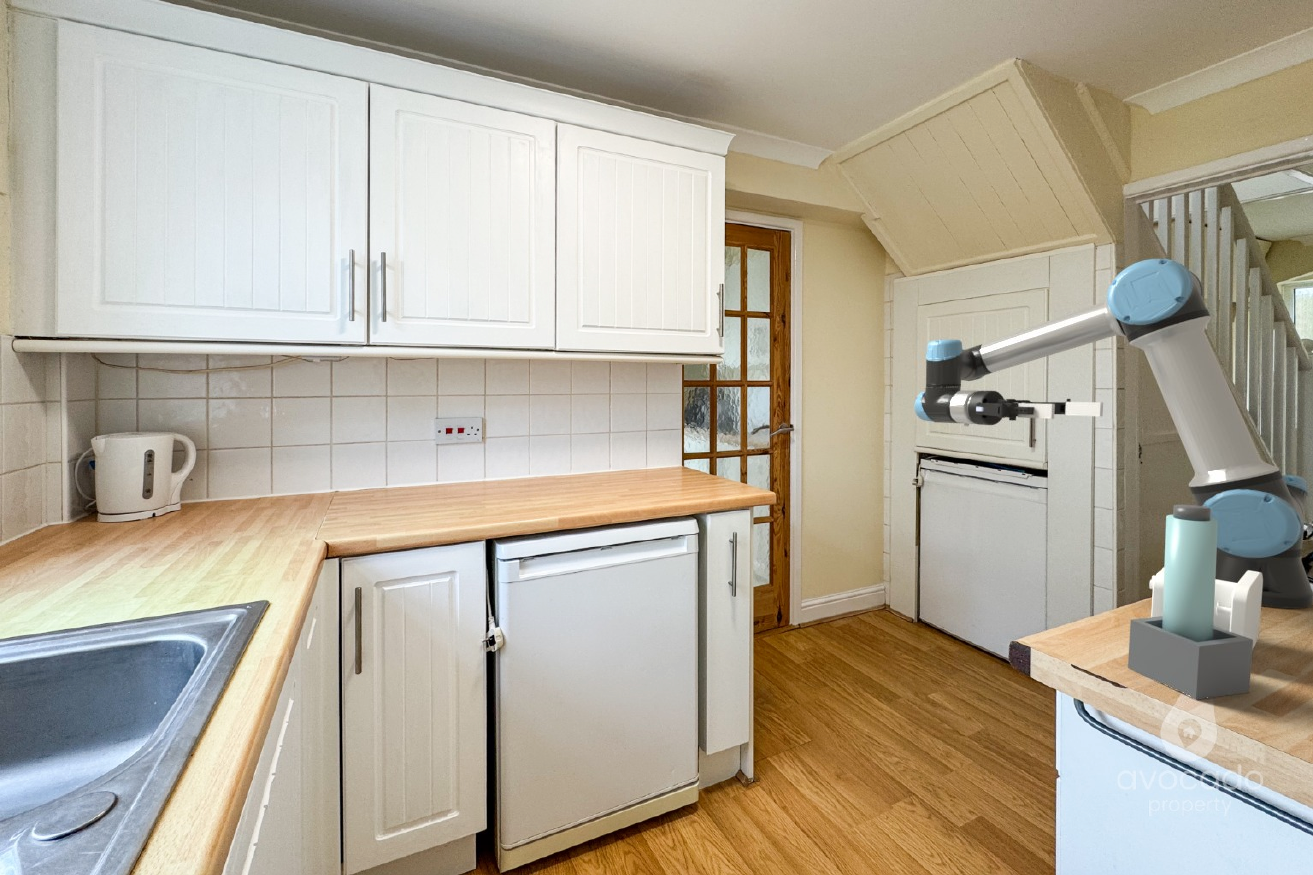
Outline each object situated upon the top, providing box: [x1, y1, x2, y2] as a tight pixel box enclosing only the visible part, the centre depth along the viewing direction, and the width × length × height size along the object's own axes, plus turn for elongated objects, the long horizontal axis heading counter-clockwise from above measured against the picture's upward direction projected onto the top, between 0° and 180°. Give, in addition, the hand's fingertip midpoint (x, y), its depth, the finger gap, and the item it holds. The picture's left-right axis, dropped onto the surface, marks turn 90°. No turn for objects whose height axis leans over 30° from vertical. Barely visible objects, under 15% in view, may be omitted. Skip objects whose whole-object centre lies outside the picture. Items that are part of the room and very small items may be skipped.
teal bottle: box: [1162, 504, 1218, 642], centre depth 77 cm, size 5×5×24 cm
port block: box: [1127, 616, 1253, 701], centre depth 77 cm, size 9×9×7 cm
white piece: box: [1148, 566, 1263, 651], centre depth 87 cm, size 15×11×12 cm
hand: (1078, 410), depth 108 cm, fingers open, 13 cm apart
